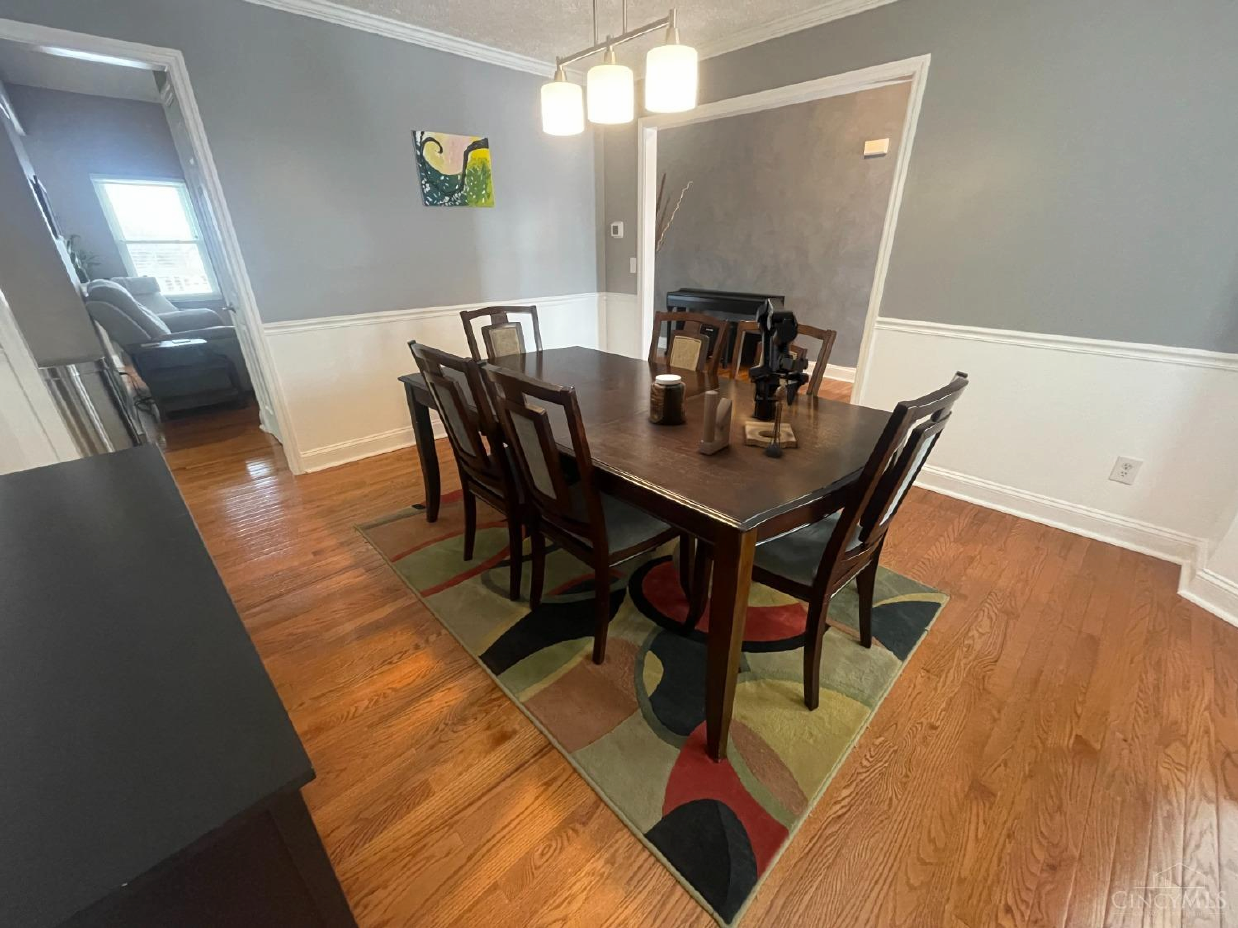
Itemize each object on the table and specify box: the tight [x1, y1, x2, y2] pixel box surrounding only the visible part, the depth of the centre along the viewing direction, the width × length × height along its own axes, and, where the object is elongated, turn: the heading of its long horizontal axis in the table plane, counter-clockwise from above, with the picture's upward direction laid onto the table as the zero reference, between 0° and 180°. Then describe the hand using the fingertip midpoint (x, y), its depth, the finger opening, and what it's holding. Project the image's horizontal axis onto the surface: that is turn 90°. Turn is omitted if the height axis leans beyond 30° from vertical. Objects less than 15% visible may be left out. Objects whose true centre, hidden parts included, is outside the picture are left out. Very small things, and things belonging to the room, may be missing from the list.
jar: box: [649, 374, 687, 426], centre depth 167 cm, size 12×12×15 cm
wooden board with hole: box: [744, 421, 797, 449], centre depth 153 cm, size 18×14×2 cm
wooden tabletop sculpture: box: [764, 385, 787, 458], centre depth 137 cm, size 6×5×20 cm
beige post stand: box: [699, 390, 733, 456], centre depth 142 cm, size 4×11×18 cm, turn 138°
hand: (777, 404), depth 146 cm, fingers open, 9 cm apart
